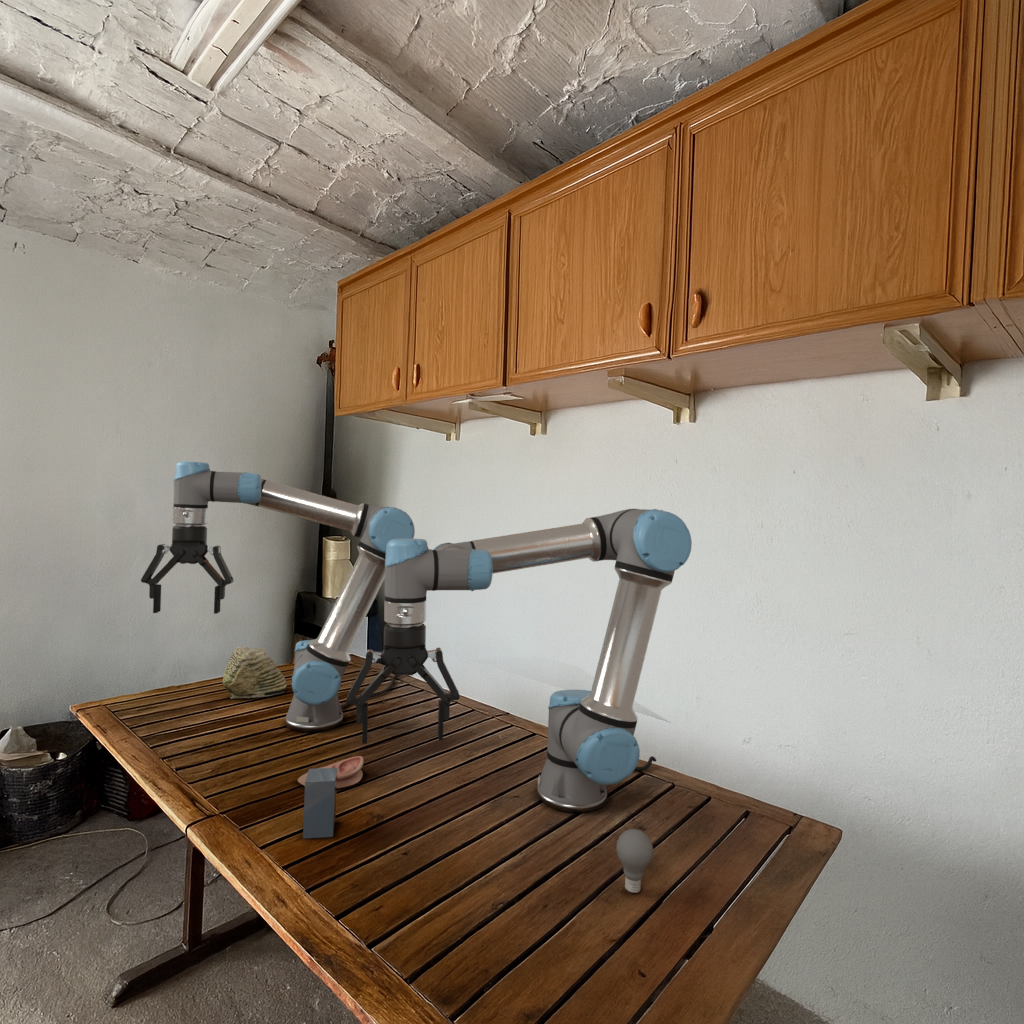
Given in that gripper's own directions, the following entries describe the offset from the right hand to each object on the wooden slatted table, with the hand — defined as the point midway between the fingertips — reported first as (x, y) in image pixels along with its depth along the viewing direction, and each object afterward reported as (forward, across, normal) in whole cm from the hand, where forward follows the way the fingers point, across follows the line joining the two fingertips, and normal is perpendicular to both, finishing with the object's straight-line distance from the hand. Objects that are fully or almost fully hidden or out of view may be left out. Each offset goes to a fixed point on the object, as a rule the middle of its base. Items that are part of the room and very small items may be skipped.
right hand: (403, 739), depth 116 cm
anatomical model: (+20, -16, +29) cm, 38 cm away
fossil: (+19, -45, +91) cm, 104 cm away
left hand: (-15, -52, +49) cm, 73 cm away
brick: (+20, -15, +7) cm, 26 cm away
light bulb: (+21, +38, -17) cm, 47 cm away
